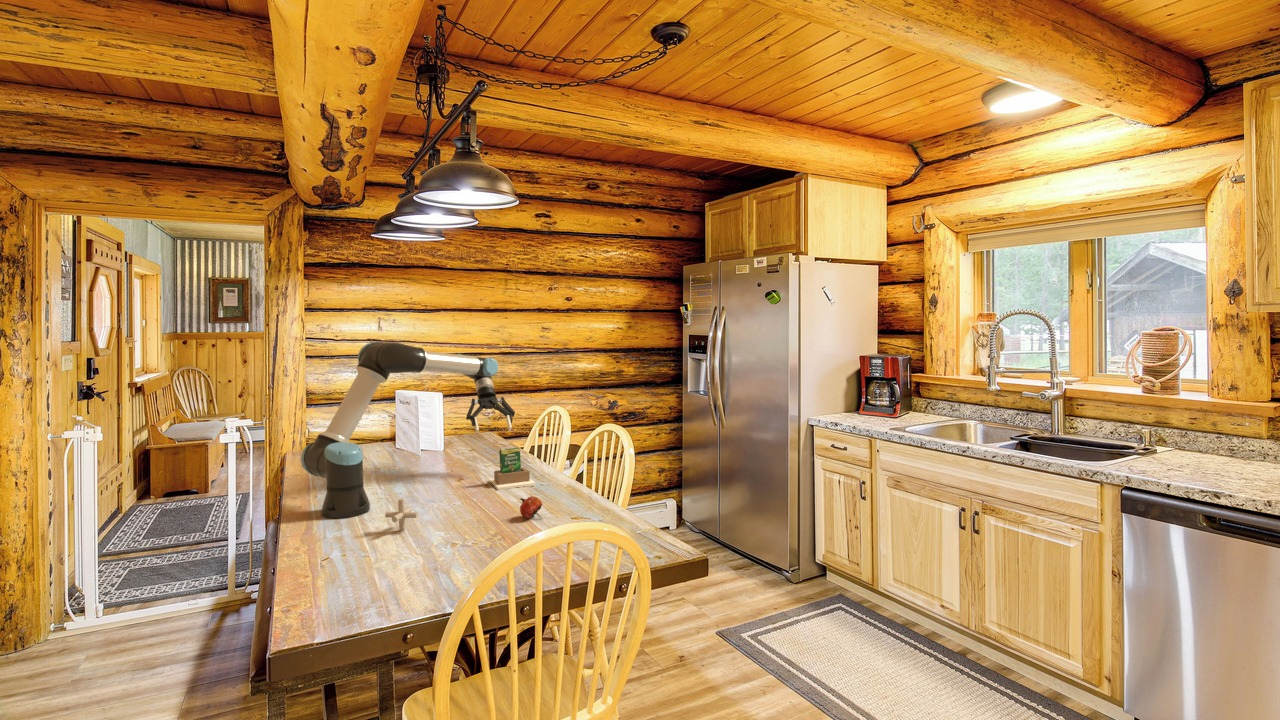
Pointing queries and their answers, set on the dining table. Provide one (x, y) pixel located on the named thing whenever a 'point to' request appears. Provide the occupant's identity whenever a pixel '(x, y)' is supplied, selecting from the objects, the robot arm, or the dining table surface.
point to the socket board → (512, 479)
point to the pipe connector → (401, 514)
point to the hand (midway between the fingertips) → (494, 430)
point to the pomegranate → (530, 507)
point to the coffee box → (510, 460)
